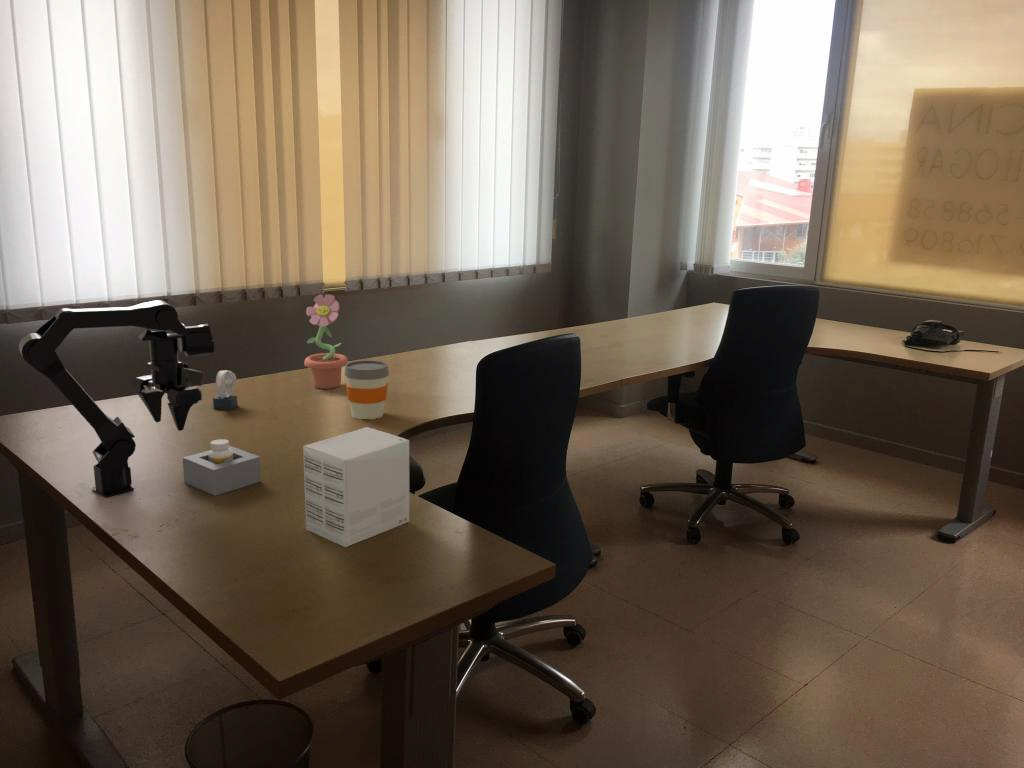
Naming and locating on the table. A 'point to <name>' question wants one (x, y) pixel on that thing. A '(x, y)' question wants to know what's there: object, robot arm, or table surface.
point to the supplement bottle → (220, 452)
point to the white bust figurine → (225, 391)
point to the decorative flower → (325, 345)
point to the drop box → (222, 472)
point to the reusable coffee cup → (366, 388)
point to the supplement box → (356, 485)
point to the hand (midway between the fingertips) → (169, 426)
